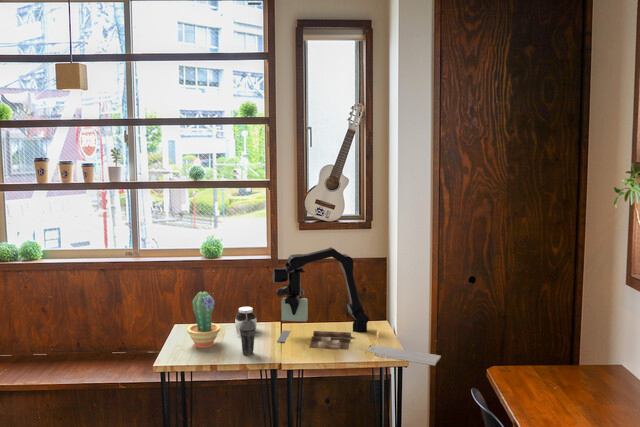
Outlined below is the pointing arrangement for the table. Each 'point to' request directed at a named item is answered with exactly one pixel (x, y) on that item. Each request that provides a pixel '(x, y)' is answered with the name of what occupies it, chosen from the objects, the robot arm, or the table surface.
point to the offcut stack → (329, 343)
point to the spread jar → (244, 317)
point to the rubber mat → (283, 336)
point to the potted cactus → (203, 321)
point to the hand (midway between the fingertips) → (294, 313)
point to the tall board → (300, 313)
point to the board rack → (341, 336)
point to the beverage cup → (247, 336)
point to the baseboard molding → (405, 355)
